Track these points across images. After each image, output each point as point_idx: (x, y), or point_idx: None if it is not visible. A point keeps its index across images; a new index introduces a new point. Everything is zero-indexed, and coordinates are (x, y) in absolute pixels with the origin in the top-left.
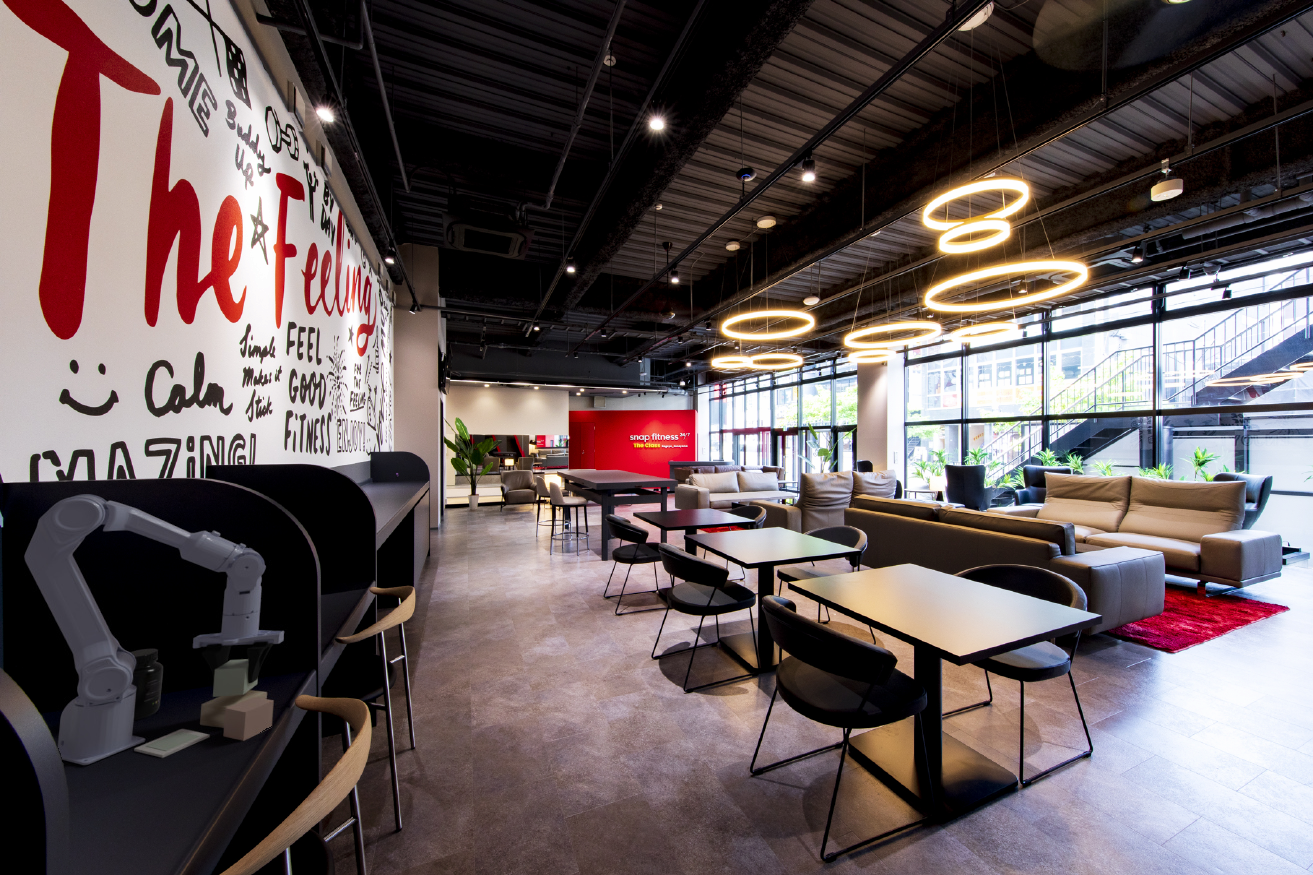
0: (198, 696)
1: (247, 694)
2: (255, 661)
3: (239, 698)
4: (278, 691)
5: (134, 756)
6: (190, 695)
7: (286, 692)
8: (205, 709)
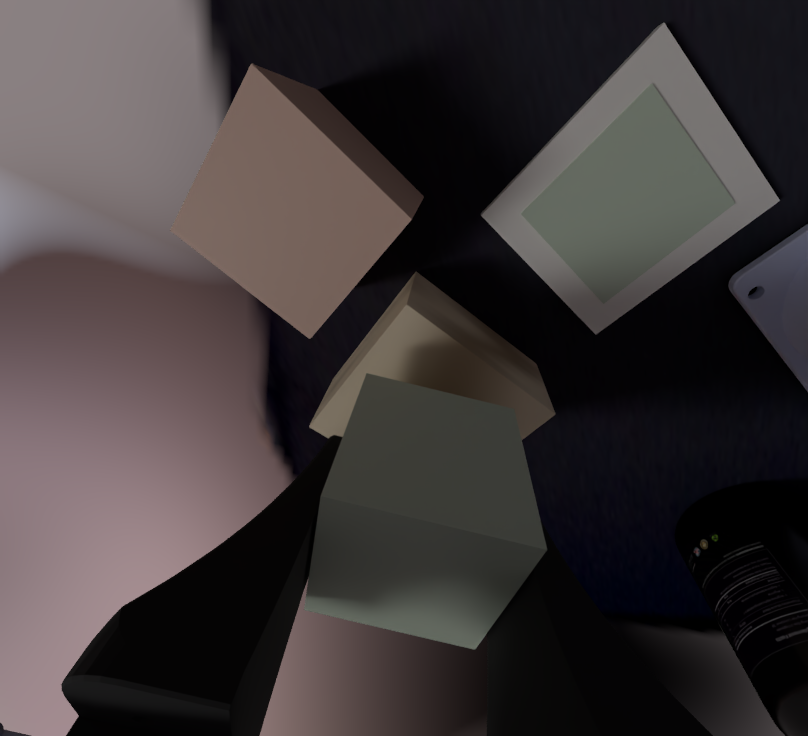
0: (568, 565)
1: None
2: (243, 538)
3: None
4: None
5: (776, 122)
6: (590, 578)
7: None
8: (532, 386)
